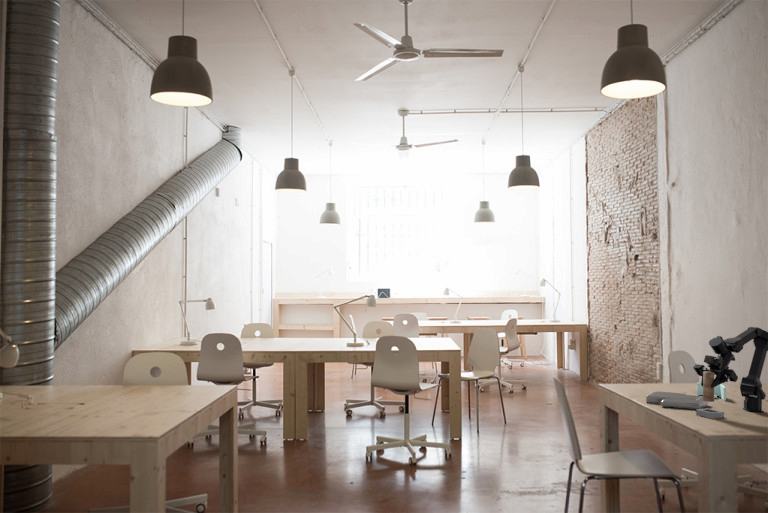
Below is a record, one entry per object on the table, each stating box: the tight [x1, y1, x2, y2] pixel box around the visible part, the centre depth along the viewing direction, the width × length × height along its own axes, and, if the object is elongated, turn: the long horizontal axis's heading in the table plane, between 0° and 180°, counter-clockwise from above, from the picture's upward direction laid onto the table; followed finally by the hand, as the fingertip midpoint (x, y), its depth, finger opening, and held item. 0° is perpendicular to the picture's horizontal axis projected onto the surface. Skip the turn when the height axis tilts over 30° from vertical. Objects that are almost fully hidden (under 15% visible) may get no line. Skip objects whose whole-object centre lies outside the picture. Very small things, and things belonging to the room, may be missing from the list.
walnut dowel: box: [703, 371, 715, 403], centre depth 269 cm, size 4×4×13 cm
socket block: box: [695, 407, 725, 420], centre depth 268 cm, size 8×8×2 cm
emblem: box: [645, 391, 709, 410], centre depth 294 cm, size 28×5×28 cm
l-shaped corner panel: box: [696, 381, 727, 401], centre depth 313 cm, size 12×12×8 cm
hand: (706, 386), depth 268 cm, fingers closed on walnut dowel, 4 cm apart
